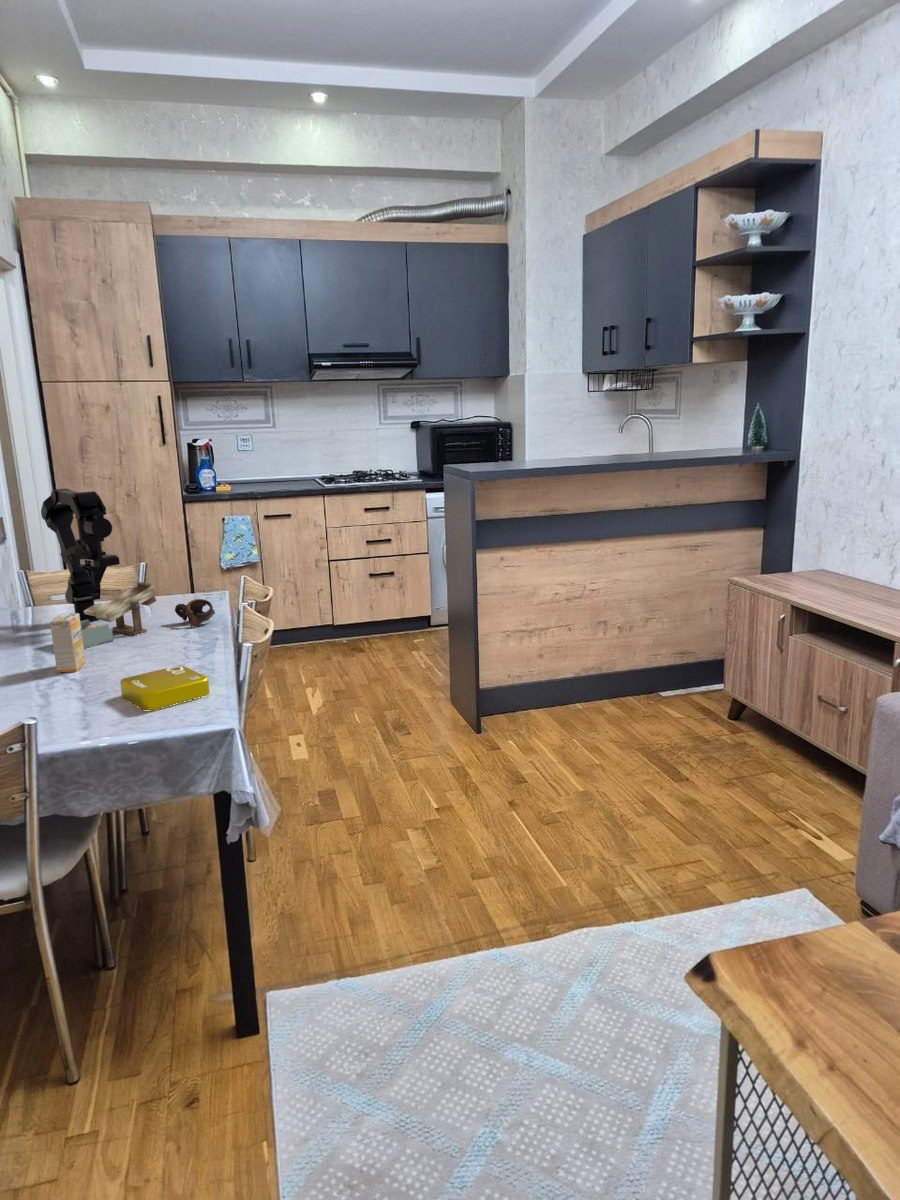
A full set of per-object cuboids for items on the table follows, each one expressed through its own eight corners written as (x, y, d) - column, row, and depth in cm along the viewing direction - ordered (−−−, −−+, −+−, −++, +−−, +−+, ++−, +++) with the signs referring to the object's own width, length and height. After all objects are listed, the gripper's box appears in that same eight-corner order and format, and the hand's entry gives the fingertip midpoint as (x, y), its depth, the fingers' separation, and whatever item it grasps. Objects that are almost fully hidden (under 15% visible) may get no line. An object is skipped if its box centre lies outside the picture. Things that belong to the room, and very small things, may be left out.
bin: (56, 645, 219) (53, 627, 218) (92, 636, 228) (90, 619, 226) (77, 650, 213) (74, 632, 212) (113, 641, 221) (111, 623, 220)
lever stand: (125, 627, 236) (121, 596, 234) (146, 632, 229) (143, 600, 227) (112, 630, 233) (108, 599, 231) (134, 635, 226) (130, 603, 224)
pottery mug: (217, 619, 245) (219, 599, 240) (208, 639, 238) (210, 619, 233) (178, 611, 244) (178, 590, 239) (168, 631, 237) (168, 611, 231)
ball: (97, 634, 225) (84, 640, 222) (92, 621, 223) (79, 627, 221) (104, 635, 223) (92, 642, 220) (99, 623, 221) (87, 629, 218)
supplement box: (77, 672, 195) (70, 620, 192) (56, 673, 194) (49, 621, 191) (86, 662, 203) (79, 612, 200) (66, 663, 202) (59, 613, 199)
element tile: (119, 698, 176) (116, 677, 175) (183, 681, 186) (181, 662, 185) (146, 715, 166) (143, 693, 164) (213, 696, 175) (211, 676, 174)
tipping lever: (129, 594, 242) (122, 579, 240) (159, 600, 234) (151, 584, 231) (84, 621, 232) (76, 605, 229) (113, 628, 223) (105, 611, 221)
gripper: (45, 536, 231) (53, 589, 234) (80, 541, 220) (88, 596, 223) (82, 531, 239) (89, 582, 243) (117, 535, 229) (124, 588, 232)
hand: (96, 587), depth 235 cm, fingers closed
